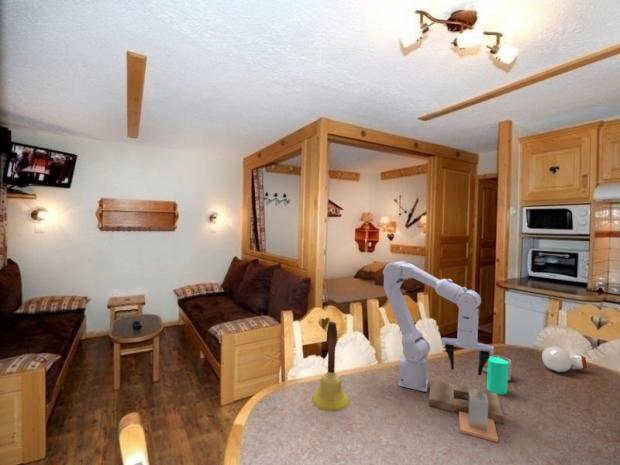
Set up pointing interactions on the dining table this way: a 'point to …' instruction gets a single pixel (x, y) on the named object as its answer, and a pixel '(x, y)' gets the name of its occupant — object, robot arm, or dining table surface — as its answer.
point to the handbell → (331, 379)
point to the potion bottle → (562, 359)
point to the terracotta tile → (473, 431)
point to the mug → (508, 366)
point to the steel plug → (477, 410)
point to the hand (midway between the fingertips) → (465, 371)
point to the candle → (497, 375)
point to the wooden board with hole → (444, 399)
